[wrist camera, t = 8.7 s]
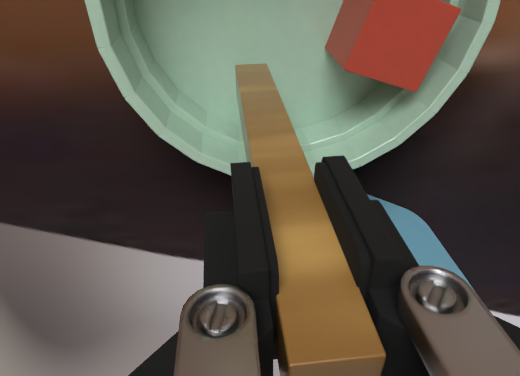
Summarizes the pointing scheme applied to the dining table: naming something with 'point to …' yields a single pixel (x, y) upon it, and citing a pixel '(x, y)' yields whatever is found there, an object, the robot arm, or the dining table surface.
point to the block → (391, 38)
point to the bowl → (281, 68)
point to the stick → (303, 247)
